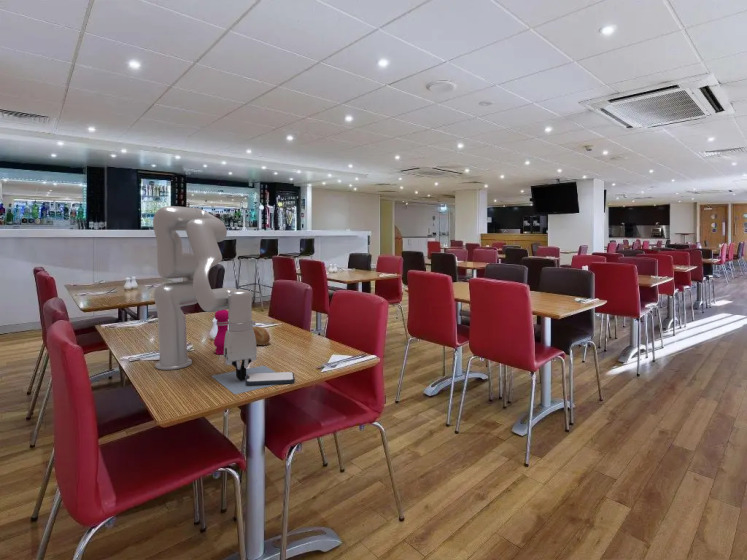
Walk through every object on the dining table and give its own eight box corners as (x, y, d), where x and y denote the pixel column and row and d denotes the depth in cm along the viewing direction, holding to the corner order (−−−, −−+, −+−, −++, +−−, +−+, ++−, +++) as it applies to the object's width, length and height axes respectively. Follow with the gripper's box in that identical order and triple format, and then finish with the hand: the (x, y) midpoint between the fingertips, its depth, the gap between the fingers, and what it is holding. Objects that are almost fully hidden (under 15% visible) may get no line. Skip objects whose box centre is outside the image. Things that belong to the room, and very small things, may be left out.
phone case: (293, 375, 151) (246, 377, 147) (293, 371, 151) (246, 373, 147) (294, 384, 142) (245, 386, 139) (294, 379, 142) (245, 381, 138)
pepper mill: (234, 353, 178) (233, 306, 176) (217, 355, 174) (215, 307, 172) (229, 349, 184) (228, 304, 182) (212, 352, 179) (210, 305, 177)
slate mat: (211, 376, 149) (211, 375, 149) (264, 365, 162) (264, 365, 162) (234, 394, 132) (234, 394, 132) (291, 381, 145) (291, 381, 145)
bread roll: (257, 348, 186) (257, 331, 185) (237, 343, 195) (236, 326, 194) (275, 344, 193) (274, 327, 193) (254, 339, 202) (254, 323, 202)
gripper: (256, 322, 150) (257, 372, 152) (214, 327, 141) (215, 380, 143) (265, 325, 145) (266, 377, 147) (222, 331, 135) (223, 386, 137)
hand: (241, 378), depth 145 cm, fingers closed
